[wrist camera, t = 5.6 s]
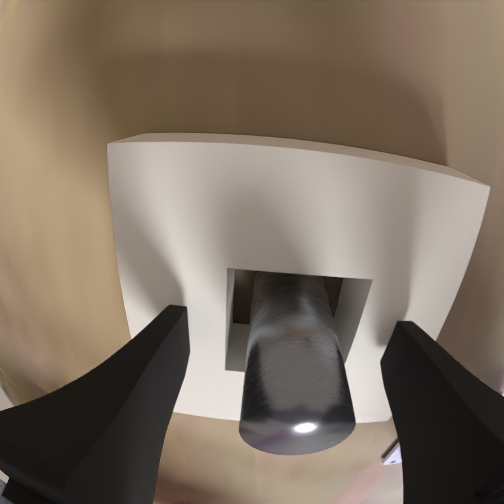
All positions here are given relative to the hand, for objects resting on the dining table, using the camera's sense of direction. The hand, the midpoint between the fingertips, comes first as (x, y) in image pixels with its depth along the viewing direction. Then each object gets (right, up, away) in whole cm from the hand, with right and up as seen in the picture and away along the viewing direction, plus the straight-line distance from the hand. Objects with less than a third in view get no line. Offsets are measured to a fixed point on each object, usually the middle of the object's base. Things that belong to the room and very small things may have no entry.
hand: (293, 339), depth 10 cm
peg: (0, +1, +3) cm, 3 cm away
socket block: (0, +1, +3) cm, 3 cm away
